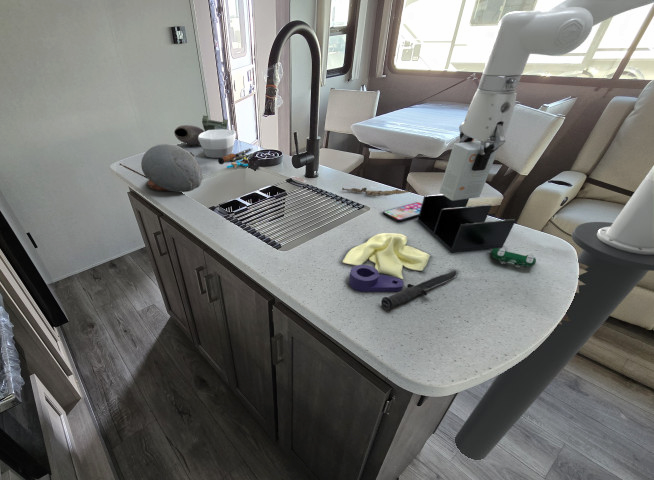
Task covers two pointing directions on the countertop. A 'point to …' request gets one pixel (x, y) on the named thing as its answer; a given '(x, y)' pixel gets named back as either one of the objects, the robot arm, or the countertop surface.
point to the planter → (188, 134)
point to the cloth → (388, 254)
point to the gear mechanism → (239, 162)
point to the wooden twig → (377, 192)
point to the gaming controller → (513, 257)
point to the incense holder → (149, 181)
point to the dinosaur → (241, 156)
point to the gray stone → (171, 168)
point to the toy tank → (213, 124)
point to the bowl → (217, 142)
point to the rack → (462, 224)
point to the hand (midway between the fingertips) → (469, 164)
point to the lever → (373, 280)
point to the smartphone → (404, 212)
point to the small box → (465, 172)
